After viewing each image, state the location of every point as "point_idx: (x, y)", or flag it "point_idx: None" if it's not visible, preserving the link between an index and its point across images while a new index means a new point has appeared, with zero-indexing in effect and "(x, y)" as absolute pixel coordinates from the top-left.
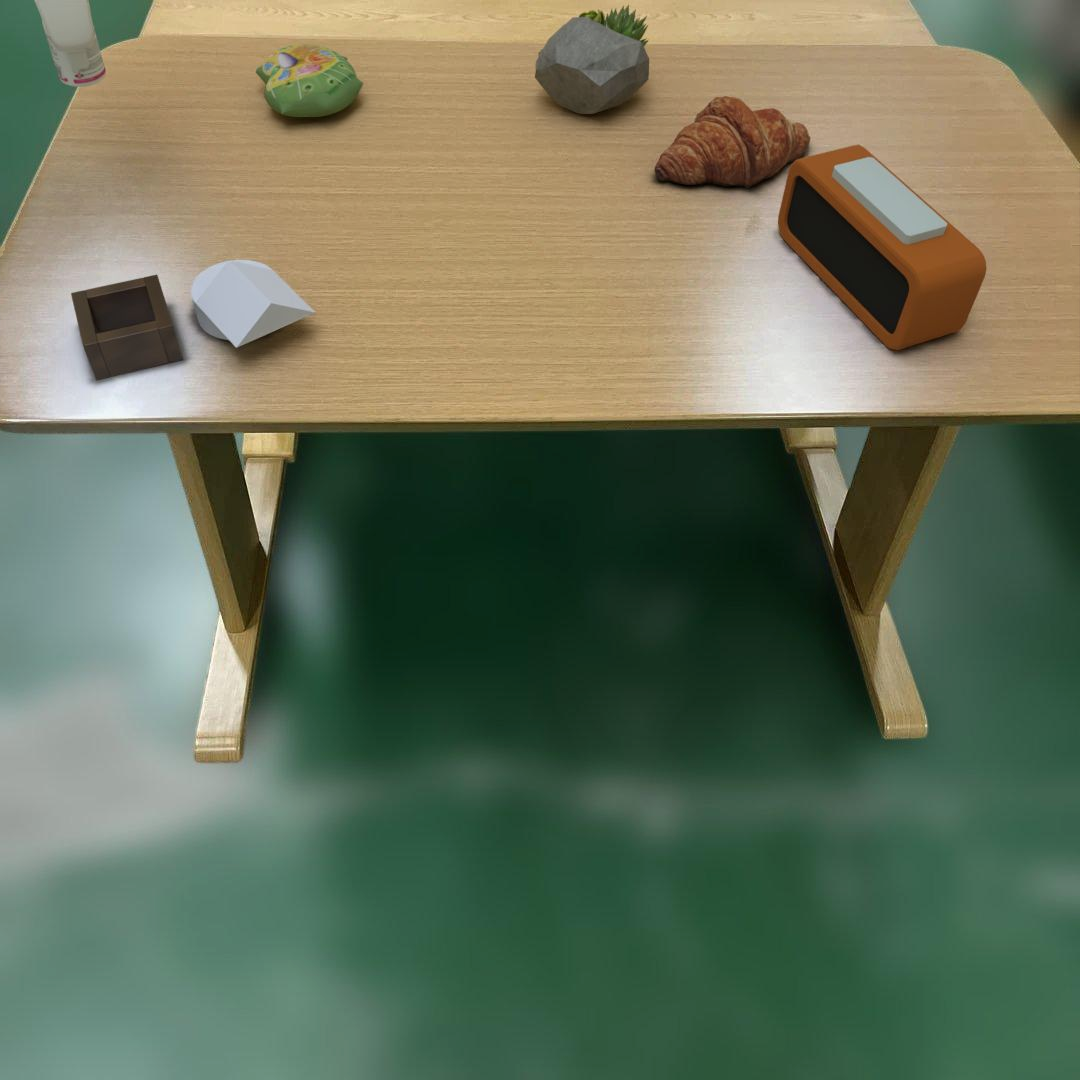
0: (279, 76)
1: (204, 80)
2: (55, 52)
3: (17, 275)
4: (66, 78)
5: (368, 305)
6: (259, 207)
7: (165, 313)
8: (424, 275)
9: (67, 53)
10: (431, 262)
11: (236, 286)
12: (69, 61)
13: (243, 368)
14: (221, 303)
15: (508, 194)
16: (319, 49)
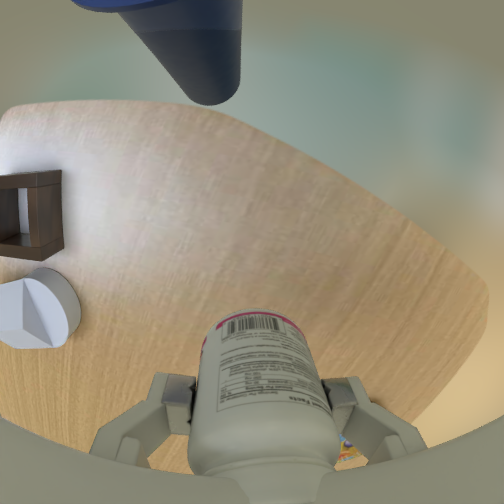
0: (340, 434)
1: (417, 361)
2: (222, 366)
3: (164, 111)
4: (216, 329)
5: (54, 374)
6: (191, 365)
7: (2, 253)
8: (81, 411)
9: (142, 401)
10: (94, 419)
11: (7, 318)
12: (153, 383)
13: (5, 280)
14: (8, 298)
15: (158, 468)
16: (356, 455)
